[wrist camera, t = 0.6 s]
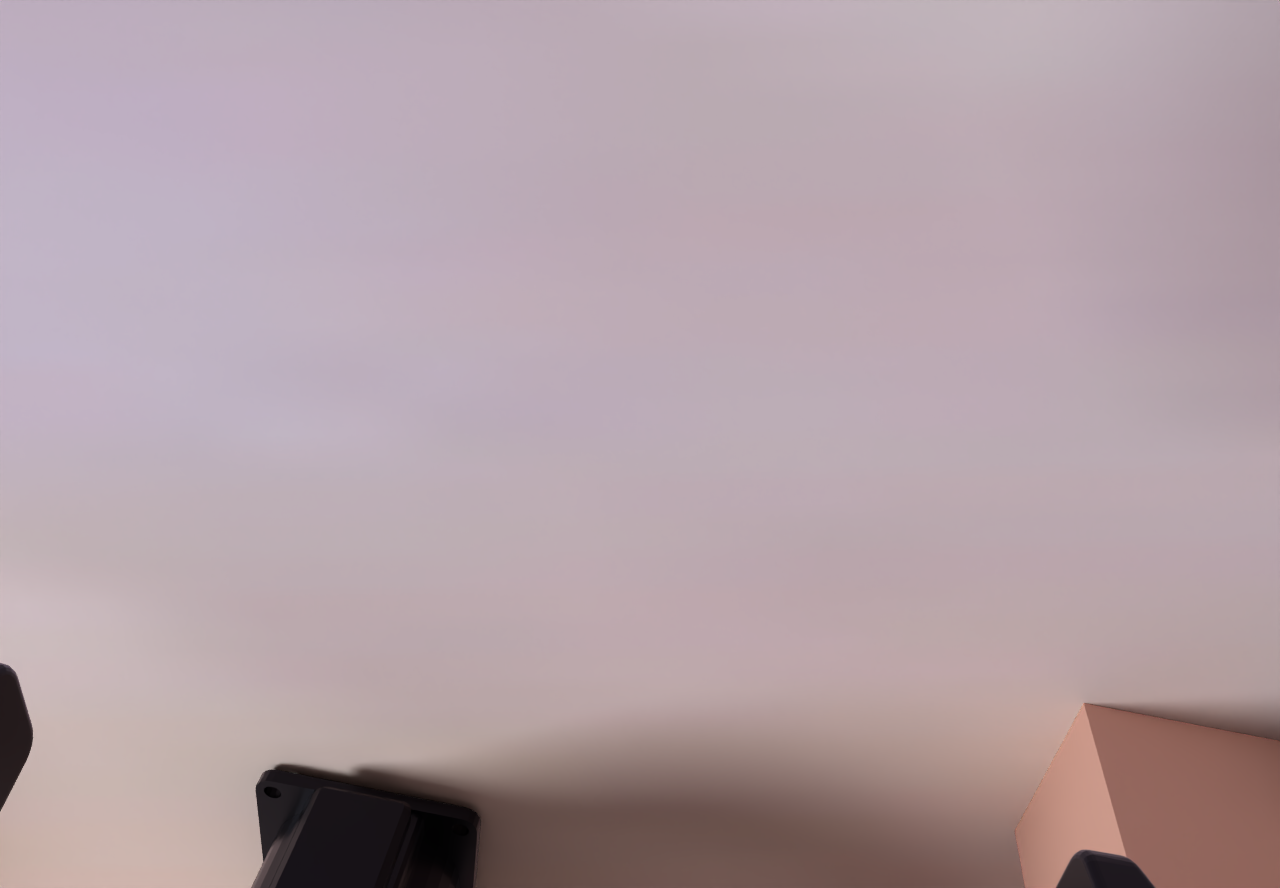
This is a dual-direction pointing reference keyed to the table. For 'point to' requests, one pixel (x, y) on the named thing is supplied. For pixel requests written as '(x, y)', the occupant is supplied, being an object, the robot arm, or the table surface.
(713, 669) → the table surface
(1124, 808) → the cube
